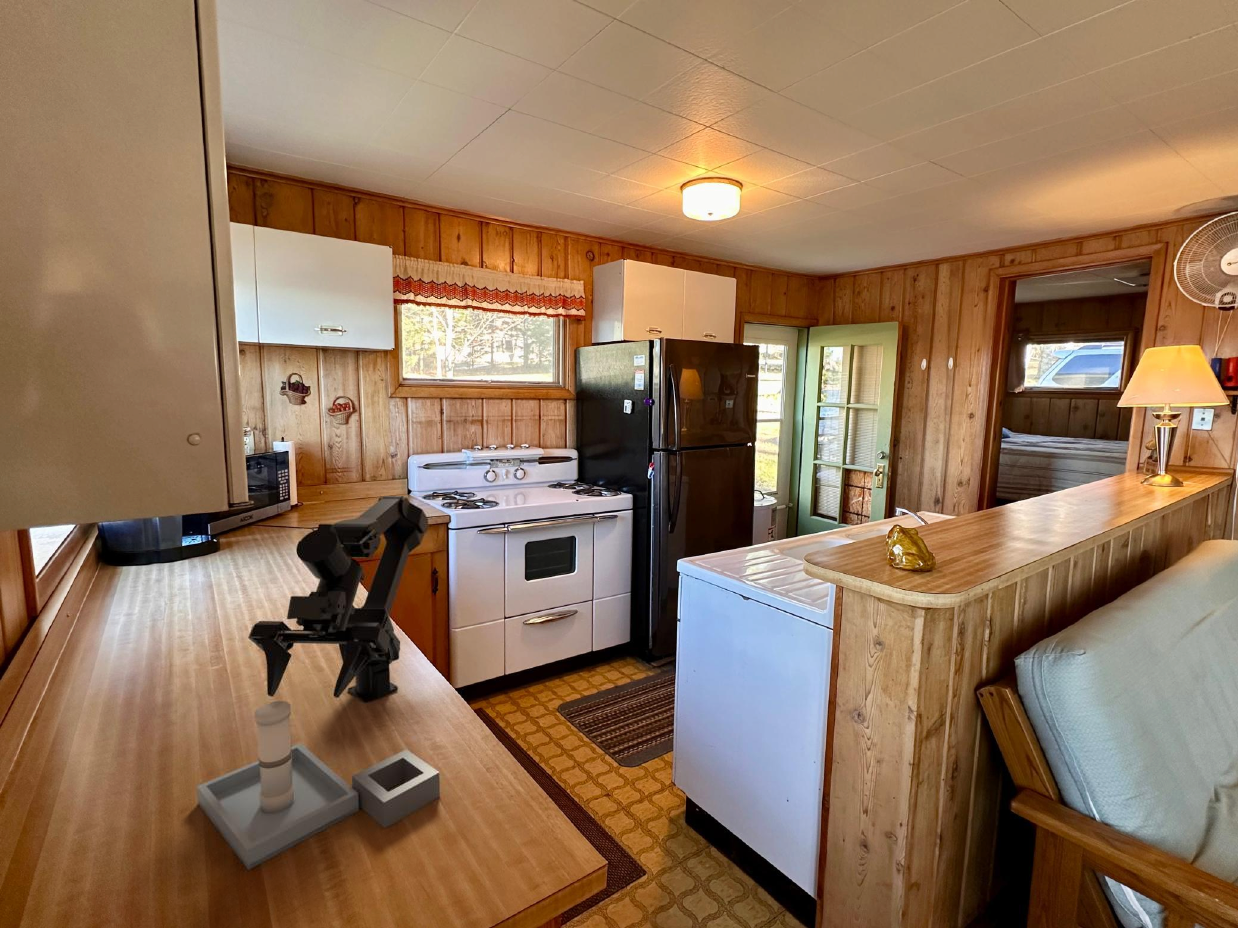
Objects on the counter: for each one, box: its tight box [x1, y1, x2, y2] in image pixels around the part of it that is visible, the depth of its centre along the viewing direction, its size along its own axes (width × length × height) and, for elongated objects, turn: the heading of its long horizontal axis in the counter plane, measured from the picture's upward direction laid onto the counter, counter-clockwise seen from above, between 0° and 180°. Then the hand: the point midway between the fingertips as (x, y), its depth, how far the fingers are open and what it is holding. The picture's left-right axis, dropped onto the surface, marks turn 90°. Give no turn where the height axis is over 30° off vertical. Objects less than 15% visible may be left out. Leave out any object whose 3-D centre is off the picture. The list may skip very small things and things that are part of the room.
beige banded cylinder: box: [254, 700, 295, 814], centre depth 78 cm, size 4×4×13 cm
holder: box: [351, 749, 441, 829], centre depth 81 cm, size 8×8×4 cm
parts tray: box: [196, 742, 360, 871], centre depth 79 cm, size 17×13×2 cm
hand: (302, 696), depth 85 cm, fingers open, 9 cm apart
